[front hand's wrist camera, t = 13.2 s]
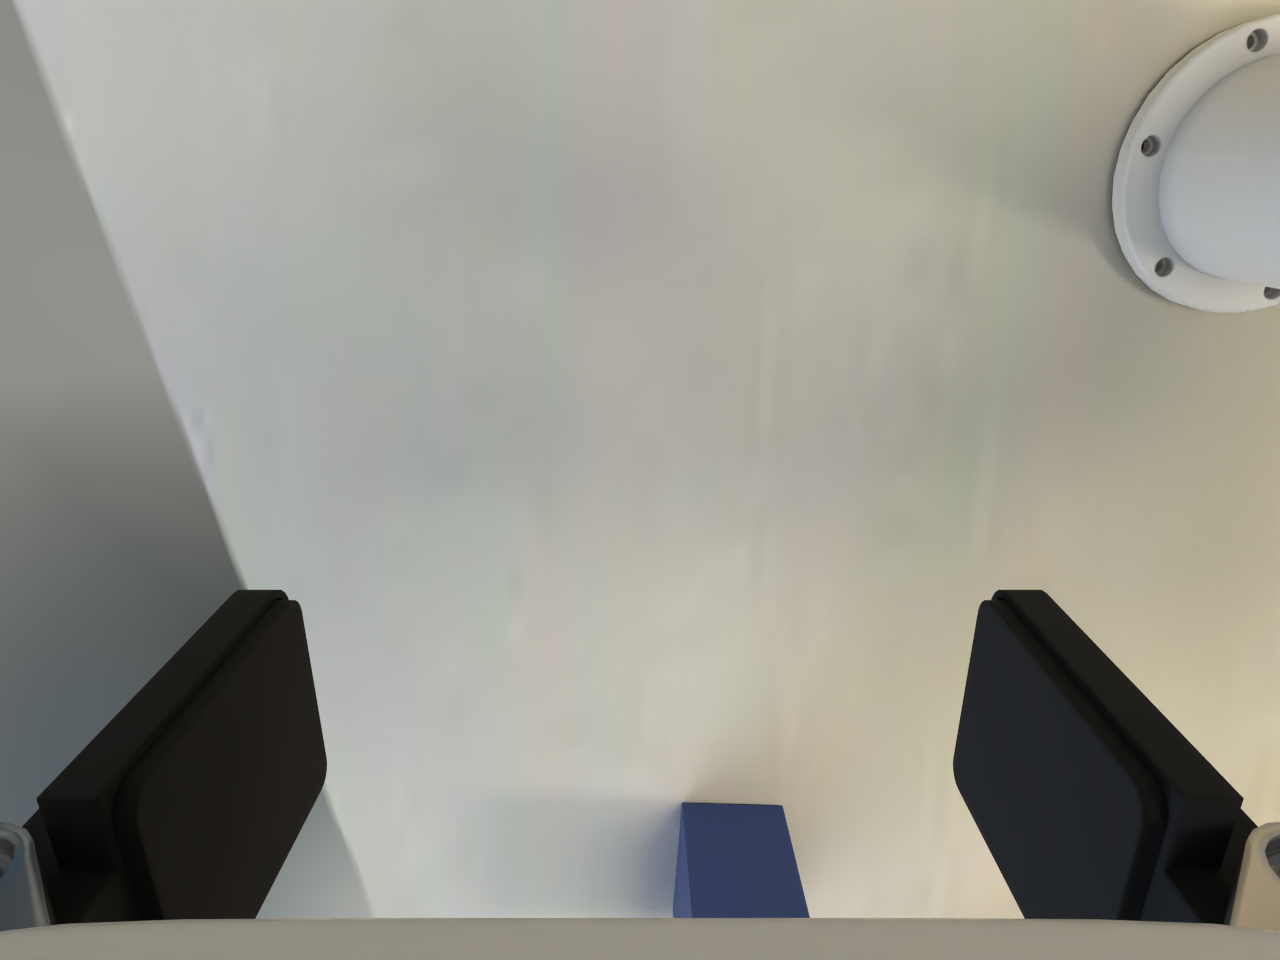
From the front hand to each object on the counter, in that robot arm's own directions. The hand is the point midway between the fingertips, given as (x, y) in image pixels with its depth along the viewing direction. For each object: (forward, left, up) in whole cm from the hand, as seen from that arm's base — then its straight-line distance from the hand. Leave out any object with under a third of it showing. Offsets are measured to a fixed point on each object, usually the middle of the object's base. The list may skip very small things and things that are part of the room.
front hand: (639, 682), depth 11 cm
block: (-12, +32, -30) cm, 46 cm away
